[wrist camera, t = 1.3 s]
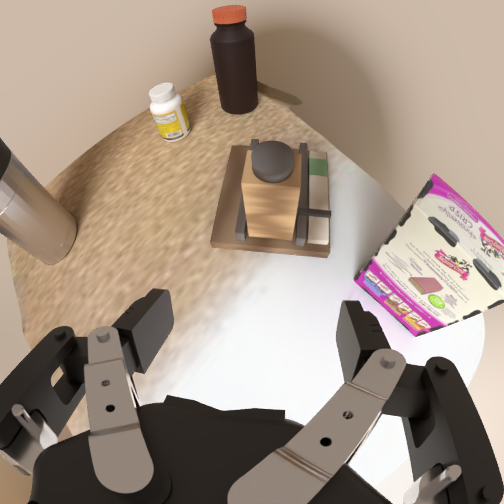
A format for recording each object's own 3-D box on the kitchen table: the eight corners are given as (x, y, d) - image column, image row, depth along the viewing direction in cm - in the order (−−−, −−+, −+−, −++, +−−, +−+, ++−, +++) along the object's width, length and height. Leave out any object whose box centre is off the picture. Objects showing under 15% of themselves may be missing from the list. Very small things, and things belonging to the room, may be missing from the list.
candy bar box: (433, 307, 28) (521, 258, 13) (414, 338, 27) (510, 305, 12) (373, 252, 32) (434, 168, 17) (351, 280, 31) (413, 203, 16)
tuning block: (248, 236, 32) (239, 171, 21) (253, 207, 33) (246, 137, 23) (325, 243, 31) (350, 181, 20) (325, 214, 32) (346, 147, 22)
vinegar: (232, 93, 47) (221, 3, 28) (264, 99, 45) (260, 4, 27) (214, 111, 44) (196, 14, 26) (247, 118, 43) (237, 14, 25)
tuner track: (212, 247, 33) (206, 234, 30) (233, 152, 40) (230, 136, 36) (327, 257, 32) (333, 245, 29) (325, 159, 38) (328, 143, 35)
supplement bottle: (177, 119, 44) (163, 77, 35) (197, 128, 43) (185, 82, 34) (155, 137, 43) (138, 95, 34) (175, 147, 41) (158, 101, 32)
